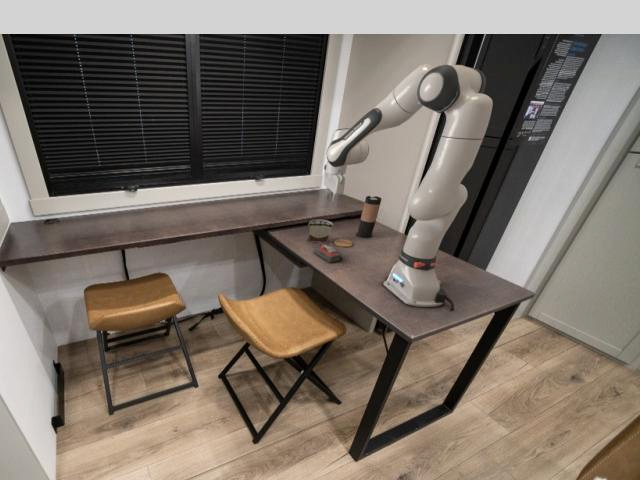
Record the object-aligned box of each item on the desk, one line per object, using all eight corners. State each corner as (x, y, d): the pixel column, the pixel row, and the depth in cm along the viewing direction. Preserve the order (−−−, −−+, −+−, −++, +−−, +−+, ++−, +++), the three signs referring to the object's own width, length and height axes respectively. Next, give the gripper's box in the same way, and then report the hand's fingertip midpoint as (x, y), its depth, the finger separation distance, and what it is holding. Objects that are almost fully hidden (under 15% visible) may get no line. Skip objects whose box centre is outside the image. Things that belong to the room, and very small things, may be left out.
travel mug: (366, 239, 162) (376, 200, 151) (353, 234, 168) (362, 197, 156) (374, 236, 166) (384, 198, 155) (362, 231, 171) (371, 194, 160)
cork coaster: (354, 247, 154) (355, 246, 153) (337, 247, 153) (337, 246, 153) (349, 240, 161) (349, 239, 161) (331, 239, 161) (332, 239, 161)
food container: (328, 238, 163) (332, 219, 157) (330, 242, 158) (333, 223, 152) (304, 236, 164) (307, 218, 158) (305, 241, 158) (308, 222, 153)
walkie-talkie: (346, 261, 141) (320, 244, 156) (348, 252, 138) (322, 236, 153) (330, 264, 138) (305, 246, 153) (332, 255, 135) (307, 238, 150)
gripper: (350, 173, 132) (344, 206, 139) (336, 164, 149) (331, 194, 156) (336, 173, 131) (330, 206, 139) (323, 164, 148) (319, 194, 156)
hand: (330, 199), depth 148 cm, fingers open, 8 cm apart
